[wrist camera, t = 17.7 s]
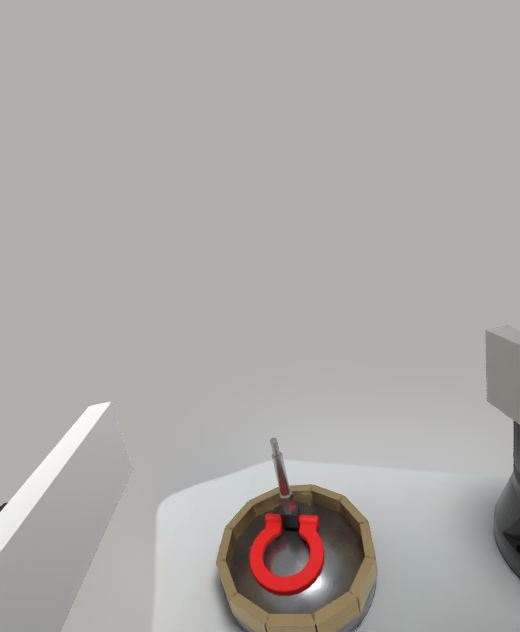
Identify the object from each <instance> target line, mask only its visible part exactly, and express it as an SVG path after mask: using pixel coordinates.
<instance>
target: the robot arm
mask: <svg viewBox="0 0 520 632" xmlns="http://www.w3.org/2000/svg"><path fill="white" fill-rule="evenodd" d="M485 331H486V332H485V333H486V377H487V401H488V402H489V403H491V404H492V405H493V406H495V407H496V408H498V409H499V410H500V411H502V412H503V413H504V414H506V415H507V416H508V417H510V418H511V419H513V420H514V452H513V457H514V471H513V473H512V475H511V477H510V479H509V481H508V483H507V485H506V487H505V488H504V490H503V492H502V494H501V496H500V498H499V500H498V502H497V504H496V508H495V514H494V527H495V537H496V541H497V544H498V547H499V549H500V551H501V553H502V555H503V557H504V558H505V560H506V561H507V563H508V564H509V566H510V567H511V568H512V569H513V571H514V572H515V573H516V574H517V575H518V576H519V577H520V330H517V329H515V328H512V327H510V326H503V327H497V328H492V329H487V330H485ZM132 470H133V466H132V463H131V460H130V457H129V454H128V451H127V448H126V444H125V442H124V438H123V435H122V432H121V429H120V426H119V423H118V420H117V417H116V414H115V411H114V408H113V405H112V402H107V403H102V404H96V405H91V406H89V407H88V408H87V410H86V411H85V412H84V413H83V414H82V416H81V417H80V418H79V419H78V420H77V422H76V423H75V424H74V425H73V426H72V427H71V429H70V430H69V431H68V432H67V433H66V435H65V436H64V437H63V438H62V439H61V441H60V442H59V443H58V444H57V445H56V446H55V448H54V449H53V450H52V451H51V452H50V454H49V455H48V456H47V457H46V458H45V460H44V461H43V462H42V463H41V464H40V466H39V467H38V468H37V469H36V470H35V471H34V473H33V474H32V475H31V476H30V477H29V479H28V480H27V481H26V482H25V483H24V485H23V486H22V487H21V488H20V489H19V491H18V492H17V493H16V494H15V495H14V496H13V498H12V499H11V500H10V501H9V502H8V503H4V504H3V505H2V506H0V632H61V629H62V627H63V625H64V623H65V620H66V618H67V616H68V614H69V612H70V609H71V607H72V605H73V603H74V600H75V598H76V596H77V593H78V591H79V589H80V587H81V585H82V582H83V580H84V578H85V576H86V573H87V571H88V569H89V567H90V565H91V562H92V560H93V558H94V556H95V553H96V551H97V549H98V547H99V544H100V542H101V540H102V538H103V536H104V533H105V531H106V529H107V526H108V524H109V522H110V520H111V517H112V515H113V513H114V511H115V509H116V506H117V504H118V502H119V500H120V498H121V495H122V493H123V491H124V489H125V486H126V484H127V482H128V479H129V477H130V475H131V473H132Z"/></svg>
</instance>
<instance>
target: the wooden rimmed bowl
mask: <svg viewBox="0 0 520 632" xmlns="http://www.w3.org/2000/svg"><path fill="white" fill-rule="evenodd" d="M289 488H290V490H291V492H292V494H293V498H294V503H295V504H296V505H299V510H300V514H301V515H316V516H319V529H317V533H318V535H319V536H320V538H321V540H322V544H323V547H324V552H325V555H324V565H323V569H322V572H321V573H320V575H319V577H318V578H317V580H316V581H315V582H314V583H313V584H312V585H311V586H310V587H309V588H308V589H306V590H304V591H302V592H300V593H298V594H294V595H289V596H282V595H275V594H273V593H270V592H267V591H266V590H265V589H263V588H262V587H261V586H260V585H259V584H258V583H257V581H256V580H255V578H254V576H253V573H252V570H251V567H250V551H251V547H252V545H253V543H254V541H255V539H256V537H257V536H258V535H259V534H260V532H261V531H262V530H264V529H265V527H266V525H265V516H266V514H280V512H281V507H282V504H281V500H280V496H279V493H280V489H279V487H277V488H275V489H273V490H271V491H269V492H266V493H264V494H262V495H260V496H258V497H256V498H254V499H252V500H250V501H249V502H247V503H246V504H245V505H244V507H243V508H242V509H241V510H240V511H239V512H238V513H237V514H236V516H235V517H234V518H233V519H232V520H231V521H230V522H229V523H228V525H227V526H226V528H225V530H224V534H223V537H222V541H221V545H220V549H219V553H218V557H217V561H216V564H217V568H218V571H219V575H220V578H221V581H222V584H223V587H224V590H225V593H226V597H227V600H228V604H229V607H230V609H231V612H232V614H233V616H234V617H235V619H236V621H237V623H238V624H239V625H240V626H241V628H242V629H243V630H244V631H245V632H353V631H354V630H355V629H356V627H357V626H358V625H359V624H360V623H361V621H362V620H363V618H364V617H365V616H366V614H367V612H368V610H369V608H370V606H371V603H372V600H373V597H374V593H375V587H376V576H377V565H376V557H375V552H374V547H373V542H372V537H371V532H370V527H369V522H368V520H367V519H366V518H365V517H364V516H363V515H362V514H361V513H360V512H359V511H358V510H357V509H356V508H355V506H354V505H353V504H352V503H351V502H350V501H349V500H348V499H347V498H346V497H345V496H344V495H341V494H338V493H335V492H332V491H330V490H327V489H324V488H321V487H319V486H316V485H313V486H312V484H311V485H295V486H289ZM309 557H310V547H309V545H308V543H307V542H306V541H305V540H304V539H303V538H301V537H300V535H299V529H291V528H283V527H282V532H281V535H280V536H279V537H277V538H275V539H274V540H273V541H271V542H270V544H269V545H268V546H267V548H266V550H265V552H264V558H263V559H264V565H265V567H266V568H267V569H268V570H269V571H270V572H271V573H273V574H274V575H277V576H282V577H287V576H292V575H295V574H296V573H298V572H300V571H301V570H302V569H303V568H304V567H305V566H306V564H307V563H308V560H309Z"/></svg>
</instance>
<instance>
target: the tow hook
mask: <svg viewBox="0 0 520 632" xmlns="http://www.w3.org/2000/svg"><path fill="white" fill-rule="evenodd" d="M270 442H271V446H272V451H273V454H272V459H273V463H274V467H275V472H276V476H277V480H278V484H279V489H280V493H279V496H280V500H281V504H282V507H281V512H280V514H266V516H265V525H266V527H265V529H264V530H262V531H261V532H260V534H259V535H258V536H257V537H256V539H255V541H254V543H253V545H252V547H251V551H250V567H251V570H252V573H253V576H254V578H255V580H256V581H257V583H258V584H259V585H260V586H261V587H262V588H263V589H265V590H266V591H267V592H270V593H273V594H275V595H282V596H289V595H294V594H298V593H300V592H302V591H304V590H306V589H308V588H309V587H310V586H311V585H312V584H313V583H314V582H315V581H316V580H317V578H318V577H319V575H320V573H321V572H322V569H323V565H324V555H325V552H324V547H323V544H322V540H321V538H320V536H319V535H318V533H317V529H319V516H316V515H301V514H300V510H299V505H296V504H295V503H294V498H293V494H292V492H291V490H290V488H289V484H288V479H287V475H286V470H285V466H284V461H283V457H282V453H281V452H279V447H278V443H277V439H276V438H272V439H271V440H270ZM282 527H283V528H291V529H299V535H300V537H301V538H303V539H304V540H305V541H306V542H307V543H308V545H309V547H310V557H309V560H308V563H307V564H306V566H305V567H304V568H303V569H302V570H301V571H300V572H298V573H296V574H295V575H292V576H287V577H282V576H277V575H274V574H273V573H271V572H270V571H269V570H268V569H267V568H266V567H265V565H264V559H263V558H264V552H265V550H266V548H267V546H268V545H269V544H270V542H271V541H273V540H274V539H275V538H277V537H279V536H280V535H281V532H282Z"/></svg>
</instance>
